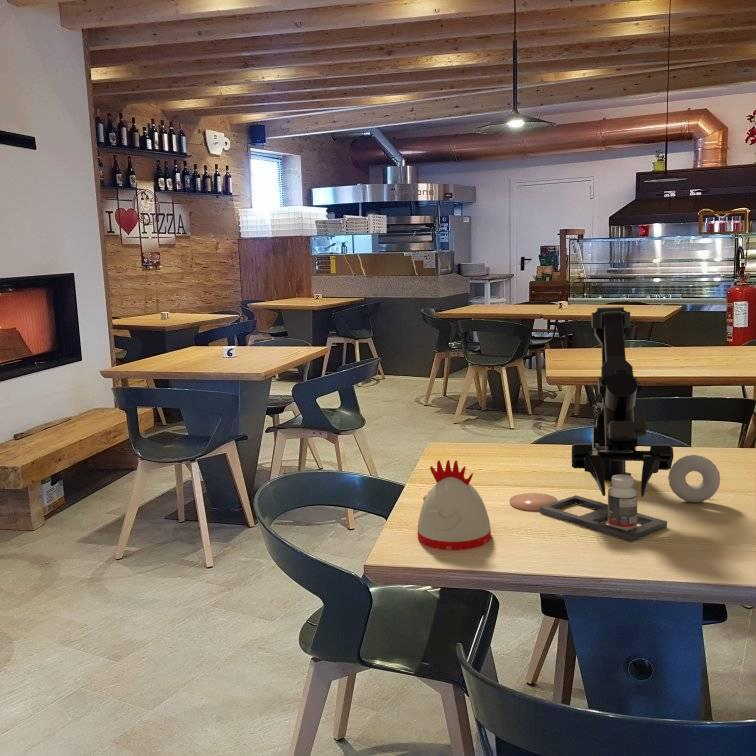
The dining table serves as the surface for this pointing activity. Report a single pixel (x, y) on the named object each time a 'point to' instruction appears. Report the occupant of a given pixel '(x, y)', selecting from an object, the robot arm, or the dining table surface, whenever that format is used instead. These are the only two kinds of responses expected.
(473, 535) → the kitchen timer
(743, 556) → the dining table surface
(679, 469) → the donut
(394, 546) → the dining table surface
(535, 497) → the coaster
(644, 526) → the dark grey flat frame
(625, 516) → the pill bottle
